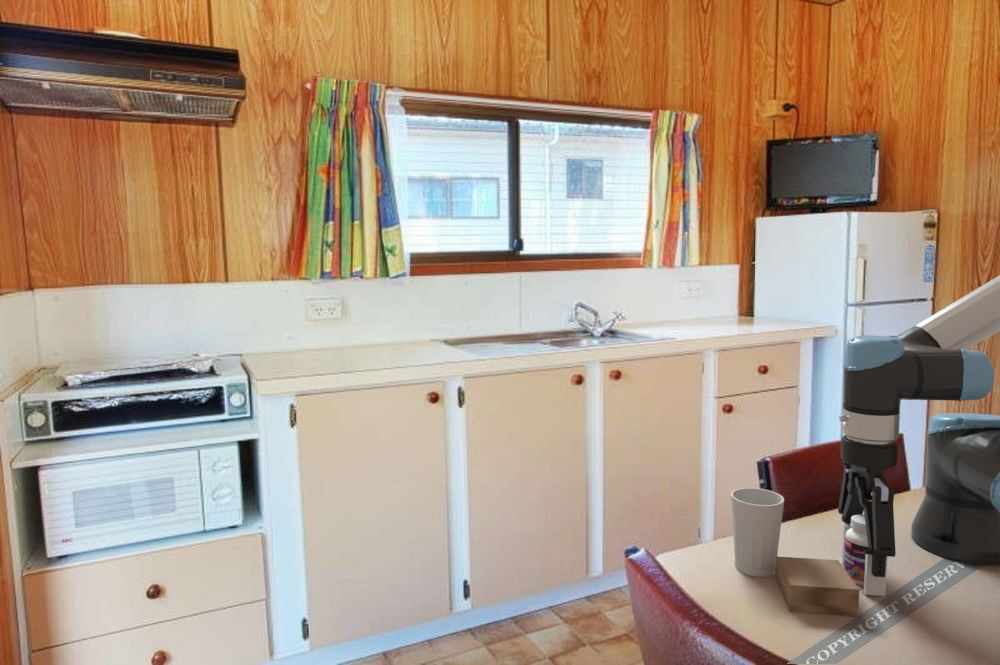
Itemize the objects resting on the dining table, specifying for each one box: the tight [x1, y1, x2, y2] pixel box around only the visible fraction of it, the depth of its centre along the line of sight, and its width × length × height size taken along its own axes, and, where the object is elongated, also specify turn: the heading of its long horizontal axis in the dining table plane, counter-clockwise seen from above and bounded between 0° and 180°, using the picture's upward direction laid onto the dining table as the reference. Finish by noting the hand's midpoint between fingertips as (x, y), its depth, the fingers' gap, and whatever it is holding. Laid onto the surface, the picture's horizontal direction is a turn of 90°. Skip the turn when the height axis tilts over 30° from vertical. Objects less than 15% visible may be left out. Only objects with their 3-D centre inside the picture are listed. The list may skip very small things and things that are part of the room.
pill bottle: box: [843, 514, 869, 587], centre depth 101 cm, size 5×5×10 cm
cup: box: [730, 487, 785, 578], centre depth 106 cm, size 8×8×12 cm
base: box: [774, 555, 860, 618], centre depth 97 cm, size 9×9×4 cm
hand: (862, 577), depth 102 cm, fingers open, 9 cm apart
